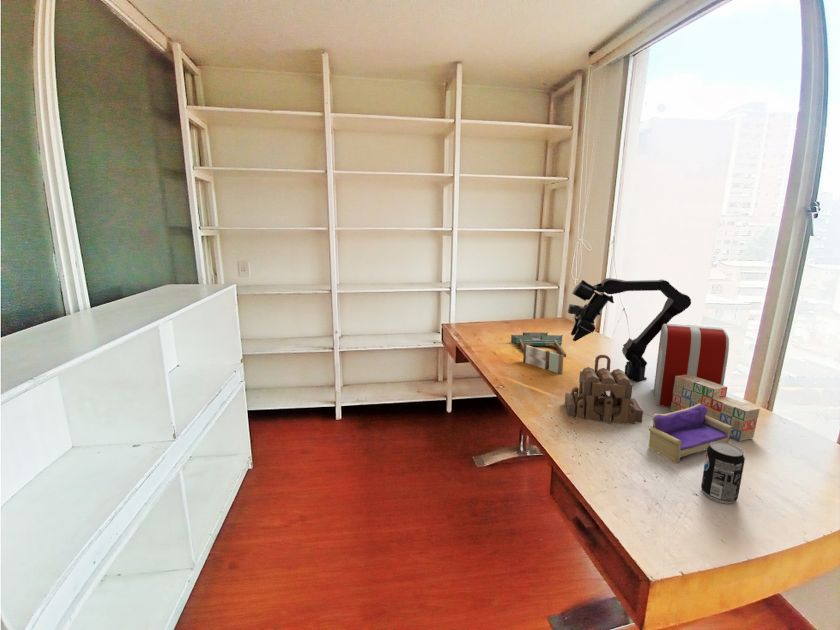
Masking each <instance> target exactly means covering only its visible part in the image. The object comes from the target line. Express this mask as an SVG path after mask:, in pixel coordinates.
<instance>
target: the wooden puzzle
mask: <svg viewBox="0 0 840 630" xmlns="http://www.w3.org/2000/svg"><path fill="white" fill-rule="evenodd" d="M600 359H606V368H605V367H603V368H599V362H600V361H599V360H600ZM598 368H599V369H598ZM630 380H631V379H628V377H627V376H626V375H625V371H623V370H622V369H620V368H617V369H613V370H612V371H611V358H610V356H608V355H607V354H599V355H597V356H596V357H595V360H594V368H593V367H590V366H588V367H587V366H586V367H584V368H583V369H582V371H579V381H578V382H579V385H578V386H574V387H572V389H571V391H570V392H571V393H570V392H569V393H568V392H565V397H564V405H565V408H566V415H567V417H573V418H574V417H576V419H581V420H583V419H584V420H585V421H594V422H600V418H601V415H602V419H601V420H602V422H603V423H604V424H611V423H612V424H613V423H614V424H615V423H616V424H622V425H623V424H624V425H628V424H629V425H635V424H636V423H638V424H639V423H642V422H643V417H644V416H643V415H644V410H643V409H642V407H641V405H640V404H639V403H638V401H637V400H636V398H634V397H632V395H633V387H634V385H633V383H632V382H631V381H630ZM607 392H609V395H608V394H607Z"/></svg>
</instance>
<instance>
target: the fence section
mask: <svg viewBox="0 0 840 630" xmlns="http://www.w3.org/2000/svg"><path fill="white" fill-rule="evenodd" d="M550 352H551V351H549V350H545V349H543V348H539V347H534V346H533V345H532V346H531V345H529V346H528V345H524V352H523V356H522V357H523V358H522V362H523V363H525V364H528V365H532V366H533V367H534V366H535V367H538V368H540V369H543V370H546V371H549V355H550Z"/></svg>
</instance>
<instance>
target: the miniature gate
mask: <svg viewBox="0 0 840 630" xmlns="http://www.w3.org/2000/svg"><path fill="white" fill-rule="evenodd" d="M548 333H549V332H548V331H547V332H534V331H533V332H531V331H530V332H528V331H527V332H523V331H522V334H510V336H511V337H510V344H511V343H513V344H512V345H516V346H520V349H521V351H522V352H523V353H524V345H528V346H532V347H533V346H542V347H543V346H544V347H547V346H549V347H552V348H555V349H556V350H557V352H558V354H560V355H563V358H566V357H567V353H566V352H565V351H564V349H563V348H562V347H561V346H562V344H563V336H564V335H563V334H560V335H559V334H557V335H554V334H553V335H550V334H548Z"/></svg>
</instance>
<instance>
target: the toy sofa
mask: <svg viewBox="0 0 840 630" xmlns="http://www.w3.org/2000/svg"><path fill="white" fill-rule="evenodd" d="M706 413H707V408H706V407H705V406H704V405H703V404H700V403H699V404H697V405H695V406H693V407H690V408H686V409H683V410H679V411H675V412H673V411H671V412H668V413H663V414H662V413H655V414H653V416H652V426H649V427H648V432H649V440H648V448H649V450H652V451H654V452H655V453H658V454H659V455H661V456H662V457H664V458H666V459H668V460H670V461H671V462H672V463H675V464H679V463H680V458H681V457H685V456H689V455H691V454H694V453H695V454H696V453H699V452H702V451H705V450H706V451H707V448H708V447H709V446H710V443H711V442H714V441H721V442H726V443H729V442H730V438H731V437H730V432H731V431H732V426H730V425H727V424H725V423H722V422H720V421H718V420H715V419H713V418H710V417H708V416H706Z"/></svg>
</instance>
